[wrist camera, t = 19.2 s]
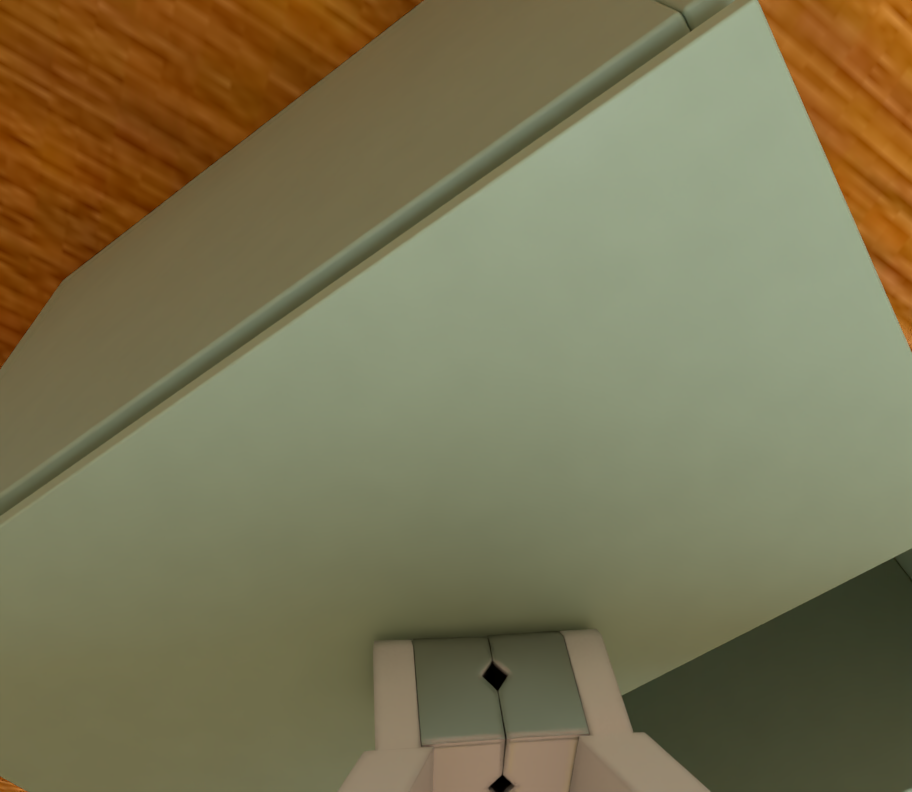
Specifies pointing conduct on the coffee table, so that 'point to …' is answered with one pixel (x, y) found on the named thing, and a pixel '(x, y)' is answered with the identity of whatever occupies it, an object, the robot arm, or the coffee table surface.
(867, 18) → the coffee table surface
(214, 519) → the flap
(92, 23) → the coffee table surface
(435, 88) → the green box
